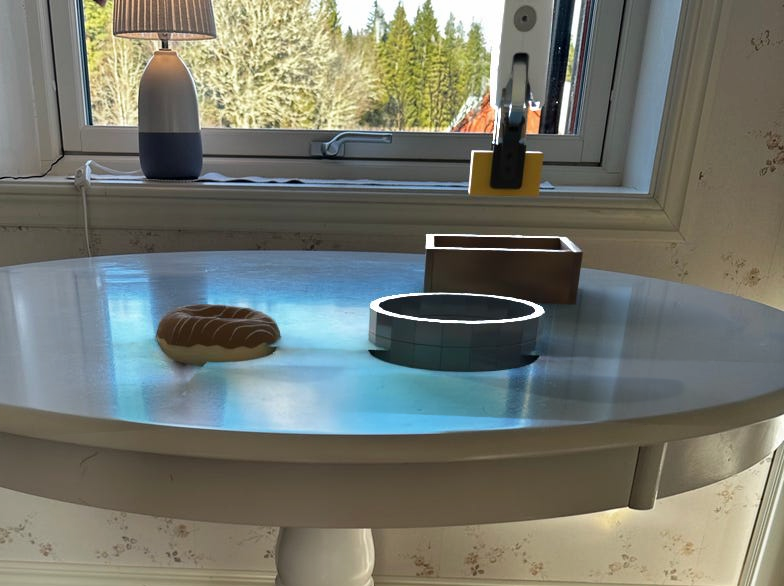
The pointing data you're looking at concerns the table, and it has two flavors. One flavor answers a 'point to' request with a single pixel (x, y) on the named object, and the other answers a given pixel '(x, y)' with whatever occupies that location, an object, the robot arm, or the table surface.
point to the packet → (481, 187)
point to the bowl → (455, 331)
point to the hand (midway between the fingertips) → (504, 185)
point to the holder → (504, 267)
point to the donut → (216, 334)
